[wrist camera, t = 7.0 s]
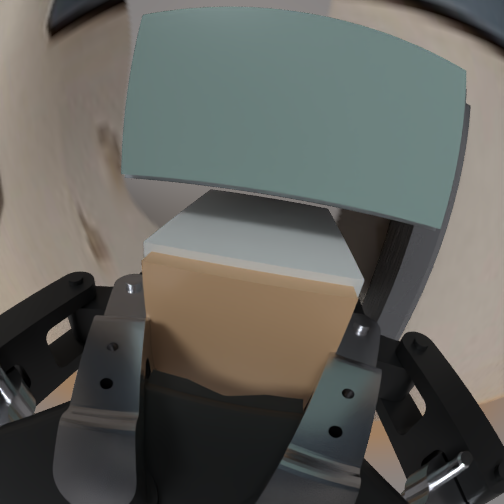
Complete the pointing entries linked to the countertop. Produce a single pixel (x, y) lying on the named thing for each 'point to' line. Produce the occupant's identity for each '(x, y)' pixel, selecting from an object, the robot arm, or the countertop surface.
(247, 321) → the block
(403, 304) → the rail
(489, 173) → the countertop surface
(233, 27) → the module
